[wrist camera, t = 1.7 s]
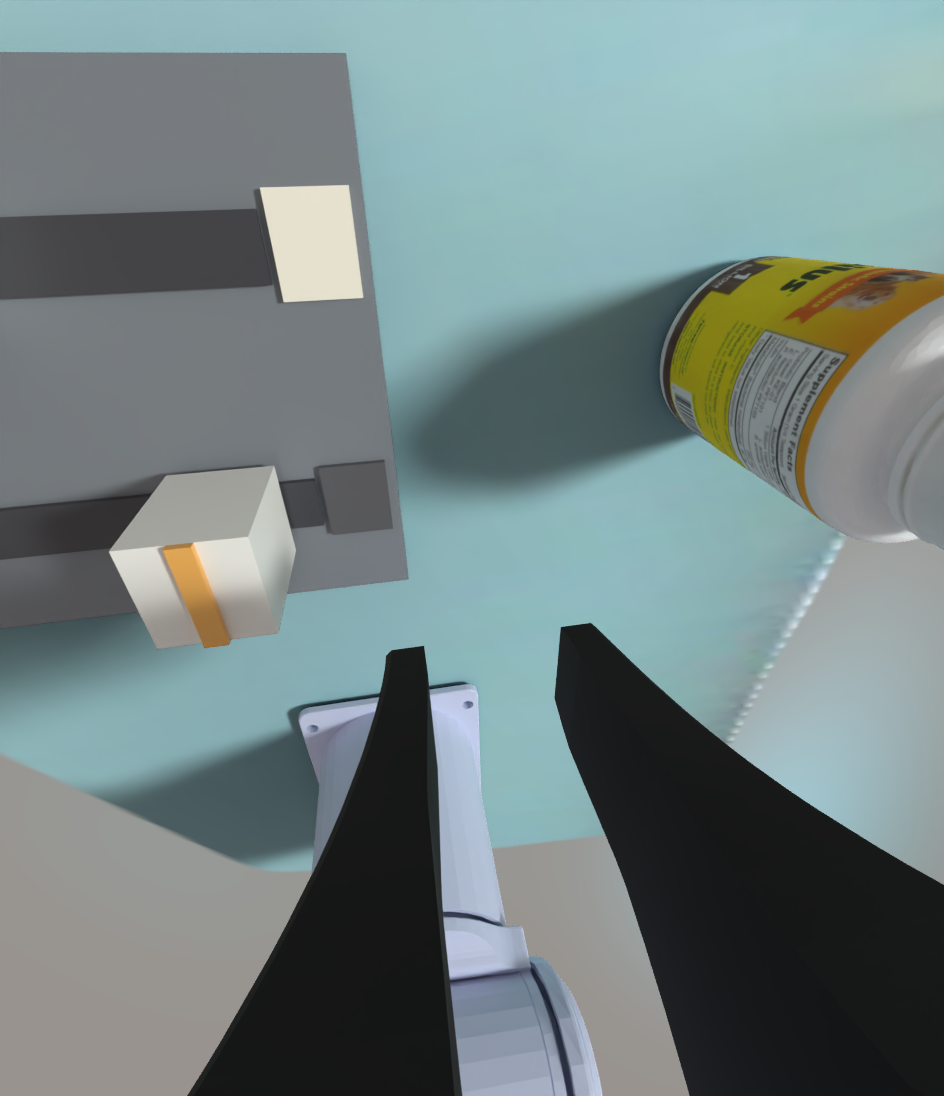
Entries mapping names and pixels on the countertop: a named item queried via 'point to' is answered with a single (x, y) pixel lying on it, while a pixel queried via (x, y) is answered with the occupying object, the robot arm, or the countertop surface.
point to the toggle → (209, 557)
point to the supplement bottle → (821, 387)
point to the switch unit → (184, 314)
